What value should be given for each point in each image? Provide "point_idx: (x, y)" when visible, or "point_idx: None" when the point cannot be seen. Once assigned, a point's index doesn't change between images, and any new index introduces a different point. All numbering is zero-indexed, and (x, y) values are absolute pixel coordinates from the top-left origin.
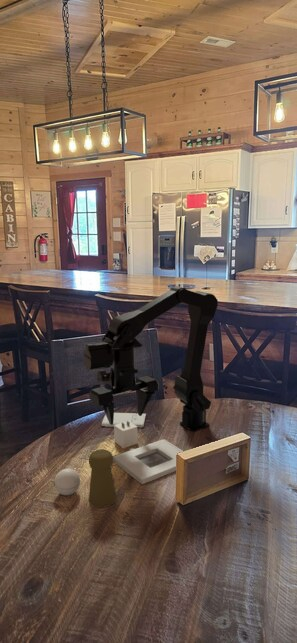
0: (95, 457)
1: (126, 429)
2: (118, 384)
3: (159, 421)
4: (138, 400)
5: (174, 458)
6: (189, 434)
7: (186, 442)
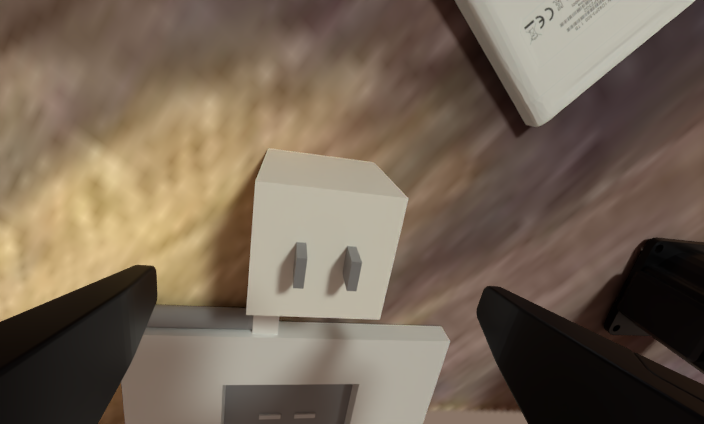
0: None
1: (286, 310)
2: None
3: (638, 134)
4: (624, 402)
5: None
6: None
7: None
